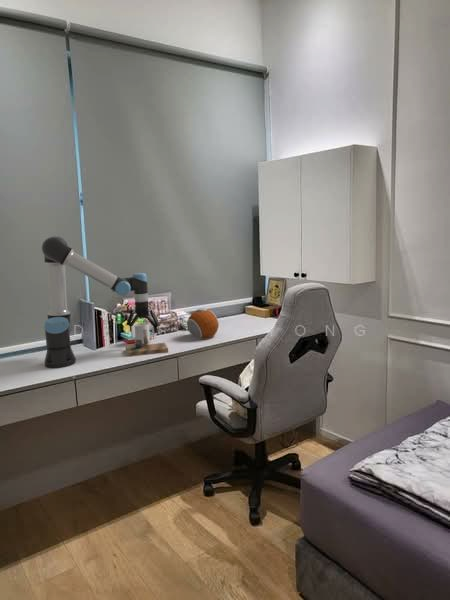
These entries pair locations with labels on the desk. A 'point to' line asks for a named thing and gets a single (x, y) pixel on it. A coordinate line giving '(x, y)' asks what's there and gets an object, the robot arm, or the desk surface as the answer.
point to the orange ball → (202, 324)
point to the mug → (139, 331)
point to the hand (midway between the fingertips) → (144, 338)
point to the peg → (139, 342)
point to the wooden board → (147, 349)
